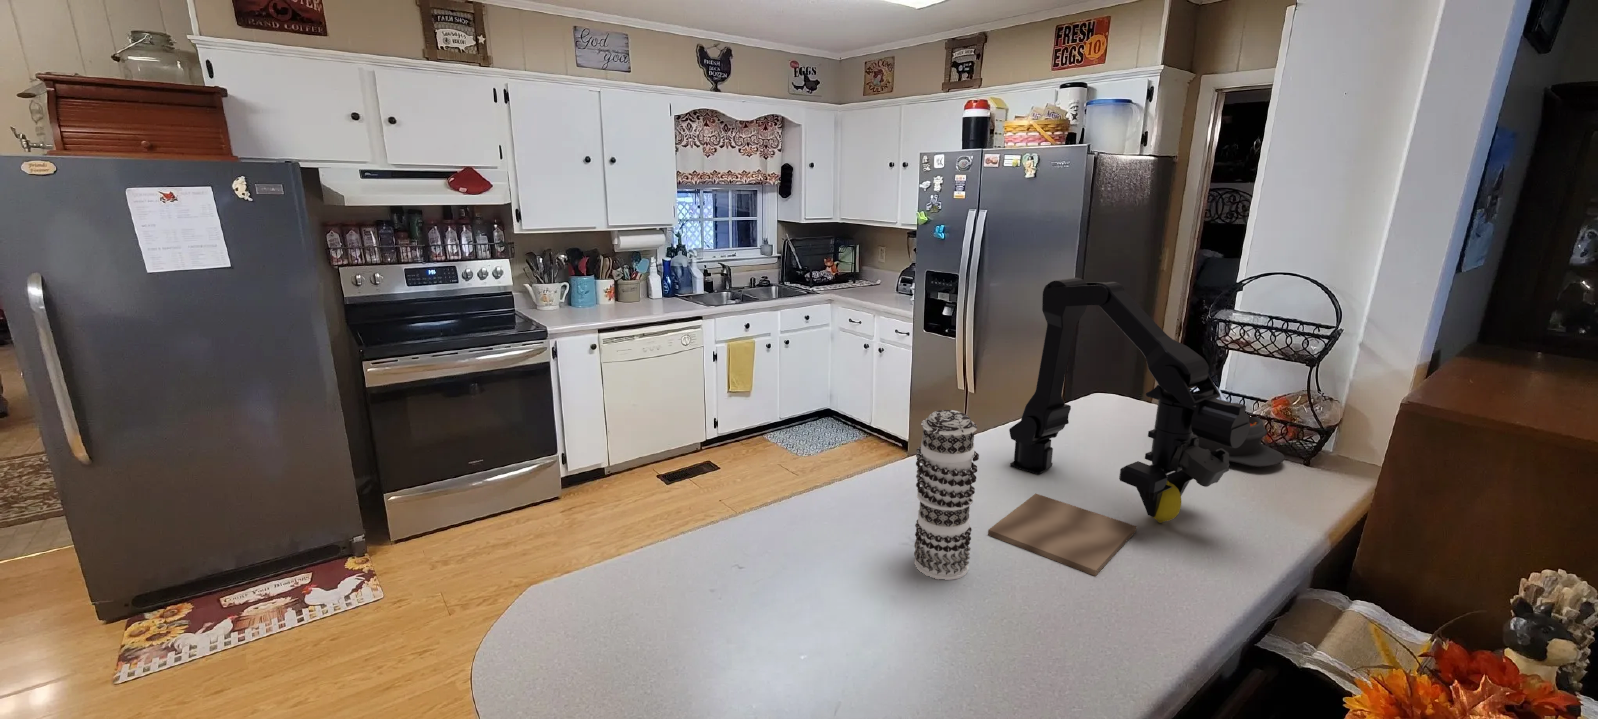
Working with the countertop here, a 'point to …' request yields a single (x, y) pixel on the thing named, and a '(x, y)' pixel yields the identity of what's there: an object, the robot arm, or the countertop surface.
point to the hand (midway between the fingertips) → (1161, 511)
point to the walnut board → (1064, 533)
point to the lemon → (1169, 504)
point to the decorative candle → (945, 494)
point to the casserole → (1248, 447)
